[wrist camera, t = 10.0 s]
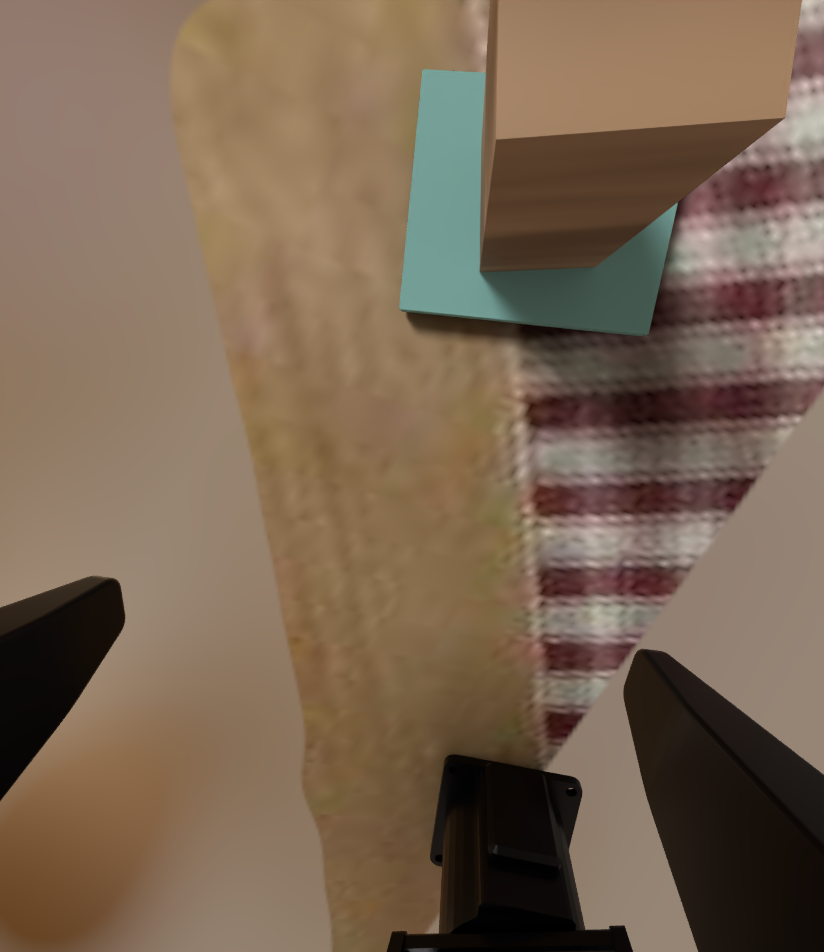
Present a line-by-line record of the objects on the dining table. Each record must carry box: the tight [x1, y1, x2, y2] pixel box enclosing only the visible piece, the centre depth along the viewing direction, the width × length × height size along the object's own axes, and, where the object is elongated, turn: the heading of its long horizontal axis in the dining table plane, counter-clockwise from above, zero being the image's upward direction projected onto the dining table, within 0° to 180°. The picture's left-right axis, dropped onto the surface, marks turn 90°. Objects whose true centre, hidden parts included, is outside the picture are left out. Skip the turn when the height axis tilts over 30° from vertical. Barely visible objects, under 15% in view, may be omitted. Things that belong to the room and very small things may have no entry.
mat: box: [399, 69, 678, 336], centre depth 16 cm, size 8×9×1 cm
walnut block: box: [480, 0, 802, 272], centre depth 11 cm, size 4×4×10 cm
